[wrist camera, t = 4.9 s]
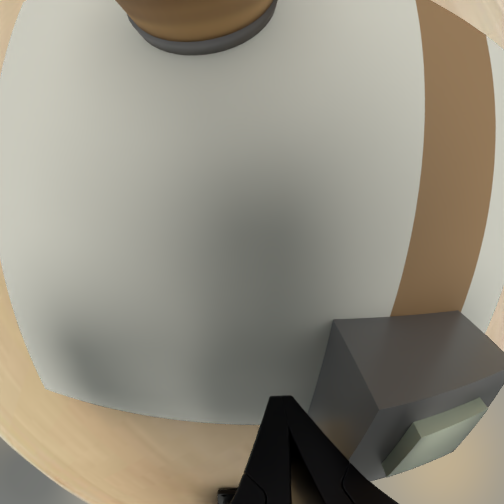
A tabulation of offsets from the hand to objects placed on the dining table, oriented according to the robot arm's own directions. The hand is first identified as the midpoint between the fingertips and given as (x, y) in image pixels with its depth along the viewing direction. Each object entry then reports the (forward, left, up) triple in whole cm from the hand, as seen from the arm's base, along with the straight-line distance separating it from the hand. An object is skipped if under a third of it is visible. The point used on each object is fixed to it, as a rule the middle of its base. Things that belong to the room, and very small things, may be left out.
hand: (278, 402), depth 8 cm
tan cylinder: (+12, +3, -1) cm, 13 cm away
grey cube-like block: (0, -5, -1) cm, 5 cm away
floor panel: (+6, 0, -3) cm, 6 cm away
